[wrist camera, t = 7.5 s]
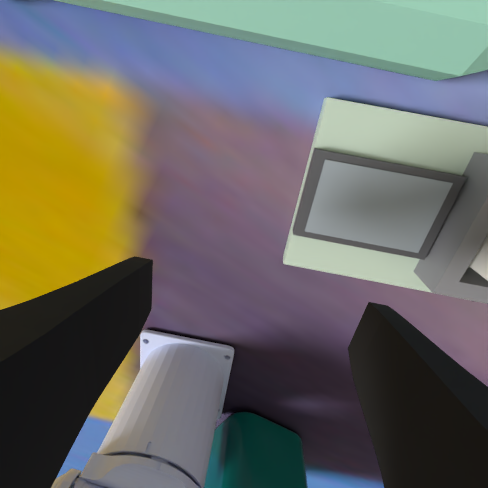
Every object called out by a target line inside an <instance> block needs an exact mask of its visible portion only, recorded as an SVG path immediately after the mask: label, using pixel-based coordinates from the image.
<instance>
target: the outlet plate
mask: <svg viewBox="0 0 488 488" xmlns="http://www.w3.org/2000/svg"><path fill="white" fill-rule="evenodd" d="M487 235H488V127H486V126H481V125H475V124H470V123H464V122H459V121H453V120H448V119H442V118H437V117H432V116H426V115H421V114H415V113H410V112H404V111H399V110H393V109H388V108H383V107H377V106H372V105H366V104H361V103H355V102H350V101H344V100H339V99H334V98H328V97H327V98H324V101H323V105H322V109H321V113H320V116H319V120H318V124H317V128H316V132H315V136H314V140H313V143H312V147H311V151H310V155H309V159H308V163H307V166H306V170H305V174H304V178H303V182H302V186H301V190H300V193H299V197H298V201H297V205H296V209H295V213H294V217H293V220H292V224H291V228H290V232H289V236H288V240H287V243H286V247H285V251H284V255H283V264H287V265H292V266H297V267H303V268H308V269H313V270H318V271H323V272H328V273H334V274H339V275H344V276H349V277H354V278H359V279H365V280H370V281H375V282H380V283H385V284H391V285H396V286H401V287H406V288H411V289H416V290H422V291H427V292H432V293H435V294H440V295H445V296H450V297H455V298H461V299H466V300H471V301H476V302H481V303H486V304H488V281H487V280H486V279H485V278H483V277H482V276H481V275H480V274H478V273H477V272H476V271H474V270H473V269H472V268H471V267H469V265H470V263H471V261H472V260H473V258H474V256H475V255H476V253H477V251H478V250H479V248H480V246H481V245H482V243H483V242H484V240H485V238H486V237H487Z"/></svg>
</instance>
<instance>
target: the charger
mask: <svg viewBox="0 0 488 488" xmlns="http://www.w3.org/2000/svg"><path fill="white" fill-rule="evenodd" d="M469 267H471V268H472V269H473V270H474V271H476V272H477V273H478V274H480V275H481V276H482V277H483V278H485V279H486V280H487V281H488V235H487V237H486V238H485V240H484V242H483V243H482V245H481V246H480V248H479V250H478V251H477V253H476V255H475V256H474V258H473V260H472V261H471V263H470V265H469Z"/></svg>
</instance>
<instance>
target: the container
mask: <svg viewBox="0 0 488 488" xmlns="http://www.w3.org/2000/svg"><path fill="white" fill-rule="evenodd" d="M55 1H59V2H64V3H69V4H74V5H78V6H83V7H88V8H93V9H97V10H102V11H107V12H112V13H116V14H121V15H126V16H130V17H135V18H140V19H145V20H149V21H154V22H159V23H164V24H168V25H173V26H178V27H183V28H187V29H192V30H197V31H202V32H206V33H211V34H216V35H221V36H225V37H230V38H235V39H239V40H244V41H249V42H254V43H258V44H263V45H268V46H273V47H277V48H282V49H287V50H292V51H296V52H301V53H306V54H311V55H315V56H320V57H325V58H330V59H334V60H339V61H344V62H348V63H353V64H358V65H363V66H367V67H372V68H377V69H382V70H386V71H391V72H396V73H401V74H405V75H410V76H415V77H420V78H424V79H429V80H434V81H438V80H443V79H448V78H453V77H459V76H463V75H468V74H472V73H476V72H481V71H485V70H488V0H55Z"/></svg>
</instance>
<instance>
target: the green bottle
mask: <svg viewBox="0 0 488 488" xmlns="http://www.w3.org/2000/svg"><path fill="white" fill-rule="evenodd" d="M204 488H308V485H307V476H306V468H305V460H304V452H303V444H302V440H301V438H300V437H299V436H298V435H297V434H296V433H295V432H293V431H291V430H289V429H287V428H285V427H283V426H281V425H278V424H276V423H274V422H272V421H270V420H268V419H266V418H263V417H261V416H259V415H257V414H255V413H252V412H246V411H244V412H237V413H234V414H231V415H230V416H229V417H228V418H227V419H226V420H225V421H223V422H222V423H221V424H220V425H219V426H218V427H217V428H216V429H215V431H214V437H213V442H212V448H211V453H210V458H209V464H208V469H207V475H206V480H205V486H204Z"/></svg>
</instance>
